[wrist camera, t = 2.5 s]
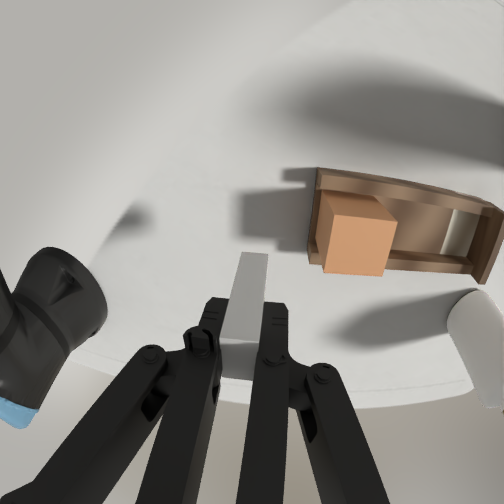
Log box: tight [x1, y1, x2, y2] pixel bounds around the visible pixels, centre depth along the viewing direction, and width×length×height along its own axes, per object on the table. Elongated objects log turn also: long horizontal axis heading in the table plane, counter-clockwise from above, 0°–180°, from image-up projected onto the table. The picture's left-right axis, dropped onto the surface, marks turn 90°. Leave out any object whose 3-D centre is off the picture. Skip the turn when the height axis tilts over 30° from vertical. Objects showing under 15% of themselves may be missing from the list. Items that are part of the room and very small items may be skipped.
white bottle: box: [447, 290, 504, 413], centre depth 22 cm, size 8×8×18 cm
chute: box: [307, 167, 504, 285], centre depth 23 cm, size 21×8×5 cm, turn 88°
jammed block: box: [315, 190, 398, 276], centre depth 22 cm, size 5×5×6 cm
